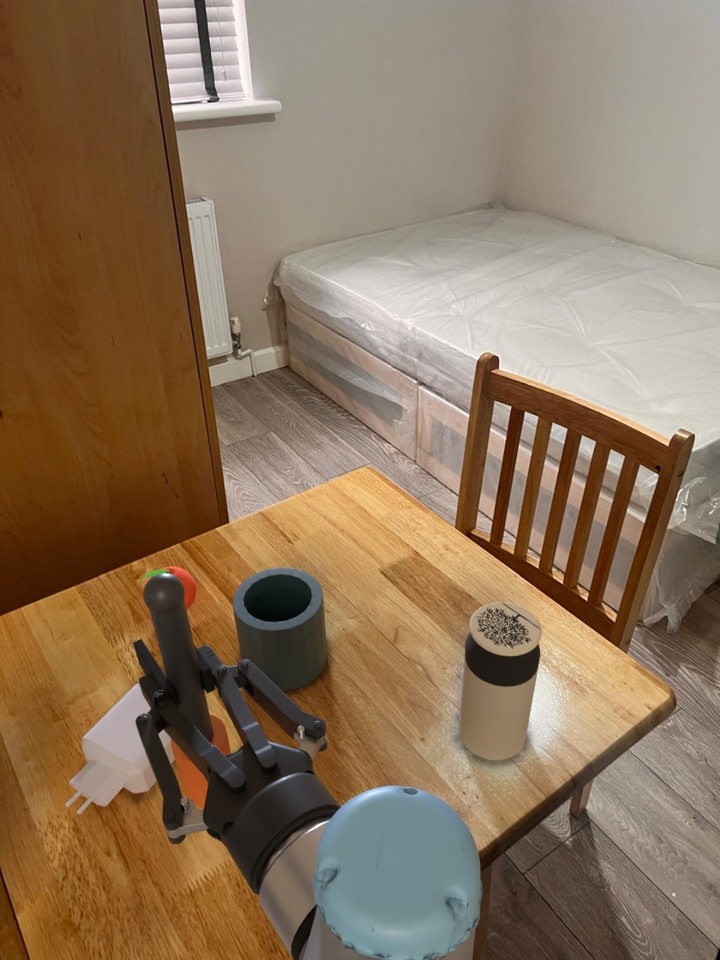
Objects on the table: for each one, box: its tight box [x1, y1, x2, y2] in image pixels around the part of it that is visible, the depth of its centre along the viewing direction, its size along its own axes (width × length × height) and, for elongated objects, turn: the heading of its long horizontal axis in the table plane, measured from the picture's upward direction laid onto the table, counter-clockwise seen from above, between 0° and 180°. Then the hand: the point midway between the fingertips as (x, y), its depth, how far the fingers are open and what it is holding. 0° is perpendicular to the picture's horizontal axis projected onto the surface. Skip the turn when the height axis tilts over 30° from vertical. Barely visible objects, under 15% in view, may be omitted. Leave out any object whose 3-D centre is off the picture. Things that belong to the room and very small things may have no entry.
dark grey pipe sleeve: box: [232, 567, 328, 692], centre depth 94 cm, size 11×11×11 cm
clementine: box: [139, 566, 197, 611], centre depth 103 cm, size 8×7×7 cm
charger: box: [64, 682, 175, 815], centre depth 83 cm, size 5×9×15 cm
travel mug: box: [457, 601, 543, 761], centre depth 82 cm, size 8×8×18 cm
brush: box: [142, 573, 232, 809], centre depth 60 cm, size 5×5×26 cm
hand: (158, 643), depth 63 cm, fingers closed on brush, 3 cm apart
